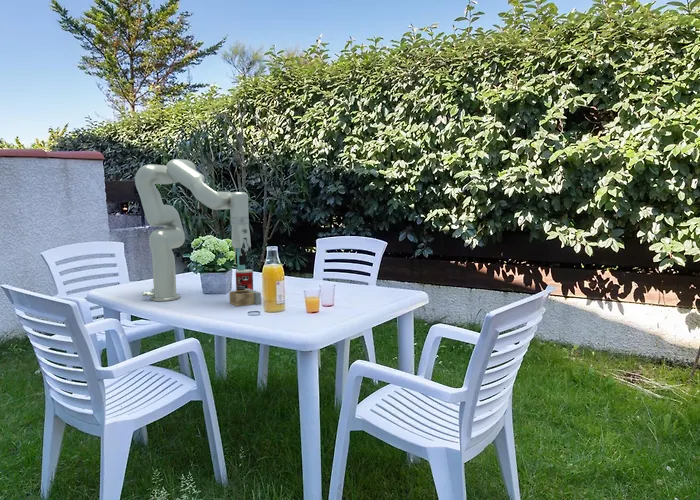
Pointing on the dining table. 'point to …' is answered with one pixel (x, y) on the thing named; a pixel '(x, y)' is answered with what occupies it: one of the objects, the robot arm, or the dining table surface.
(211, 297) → the dining table surface
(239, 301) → the wooden open box
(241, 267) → the dowel
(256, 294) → the wall
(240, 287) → the canned food
